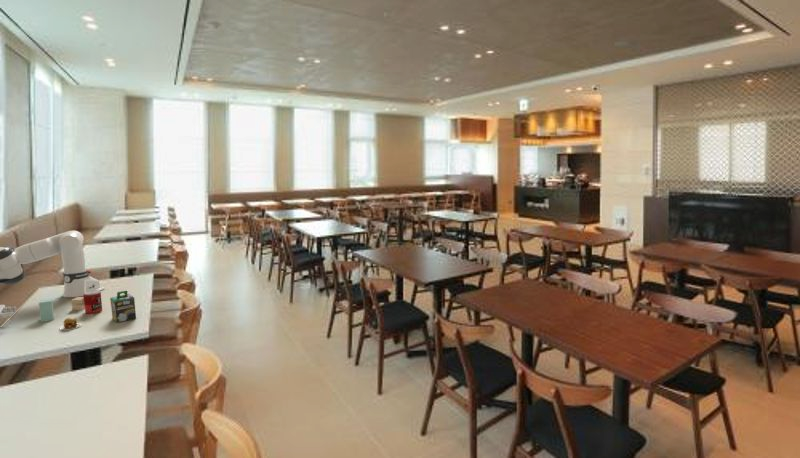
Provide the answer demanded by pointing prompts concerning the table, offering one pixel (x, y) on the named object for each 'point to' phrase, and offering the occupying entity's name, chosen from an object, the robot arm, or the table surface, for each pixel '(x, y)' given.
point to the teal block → (46, 310)
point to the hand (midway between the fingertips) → (14, 310)
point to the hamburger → (70, 324)
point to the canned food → (92, 301)
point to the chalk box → (123, 307)
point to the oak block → (78, 303)
